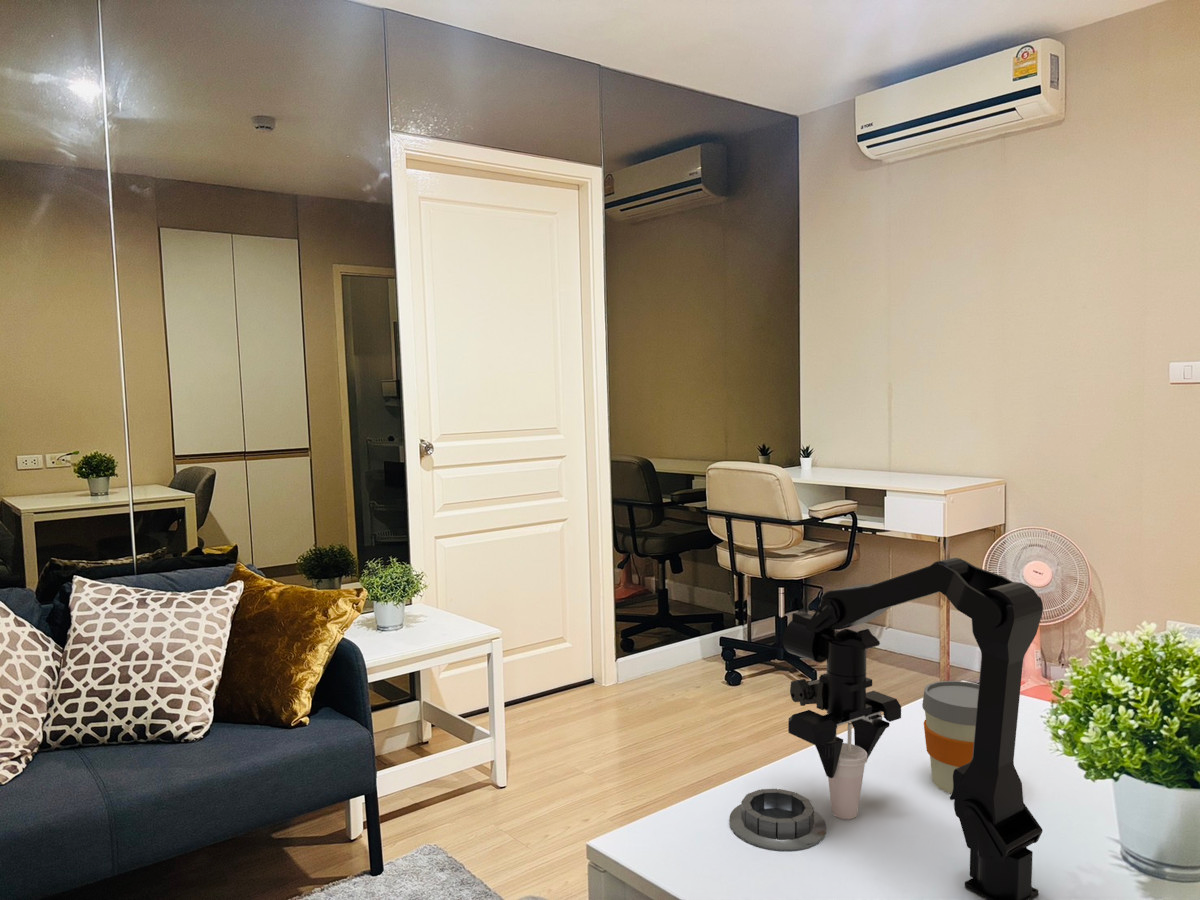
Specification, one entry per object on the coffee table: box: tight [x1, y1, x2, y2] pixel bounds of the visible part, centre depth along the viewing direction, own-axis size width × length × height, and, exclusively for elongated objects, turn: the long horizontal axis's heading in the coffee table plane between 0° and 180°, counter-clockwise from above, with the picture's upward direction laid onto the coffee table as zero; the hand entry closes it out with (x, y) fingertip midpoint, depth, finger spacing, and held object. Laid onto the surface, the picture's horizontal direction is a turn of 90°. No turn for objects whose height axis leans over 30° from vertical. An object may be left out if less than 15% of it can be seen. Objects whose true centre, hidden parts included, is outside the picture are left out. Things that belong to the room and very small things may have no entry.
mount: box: [729, 788, 827, 852], centre depth 129 cm, size 14×14×3 cm
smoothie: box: [827, 722, 868, 820], centre depth 132 cm, size 6×6×14 cm
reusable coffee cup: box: [922, 680, 979, 794], centre depth 141 cm, size 12×13×15 cm
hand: (845, 771), depth 132 cm, fingers closed on smoothie, 6 cm apart
